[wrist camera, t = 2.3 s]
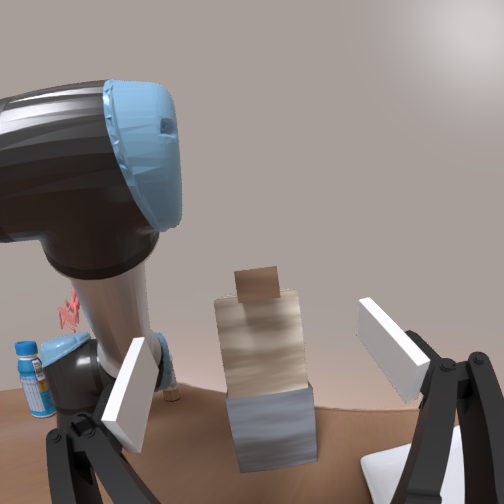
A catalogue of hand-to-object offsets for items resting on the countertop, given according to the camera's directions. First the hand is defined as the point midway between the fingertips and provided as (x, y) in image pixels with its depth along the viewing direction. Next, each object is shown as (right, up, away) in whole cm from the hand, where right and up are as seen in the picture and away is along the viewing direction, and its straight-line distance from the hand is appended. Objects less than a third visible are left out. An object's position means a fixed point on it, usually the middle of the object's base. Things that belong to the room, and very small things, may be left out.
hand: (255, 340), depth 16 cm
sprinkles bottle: (-22, -36, +50) cm, 65 cm away
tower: (+4, -29, +26) cm, 39 cm away
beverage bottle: (-55, -38, +30) cm, 74 cm away
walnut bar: (0, -1, +24) cm, 24 cm away
